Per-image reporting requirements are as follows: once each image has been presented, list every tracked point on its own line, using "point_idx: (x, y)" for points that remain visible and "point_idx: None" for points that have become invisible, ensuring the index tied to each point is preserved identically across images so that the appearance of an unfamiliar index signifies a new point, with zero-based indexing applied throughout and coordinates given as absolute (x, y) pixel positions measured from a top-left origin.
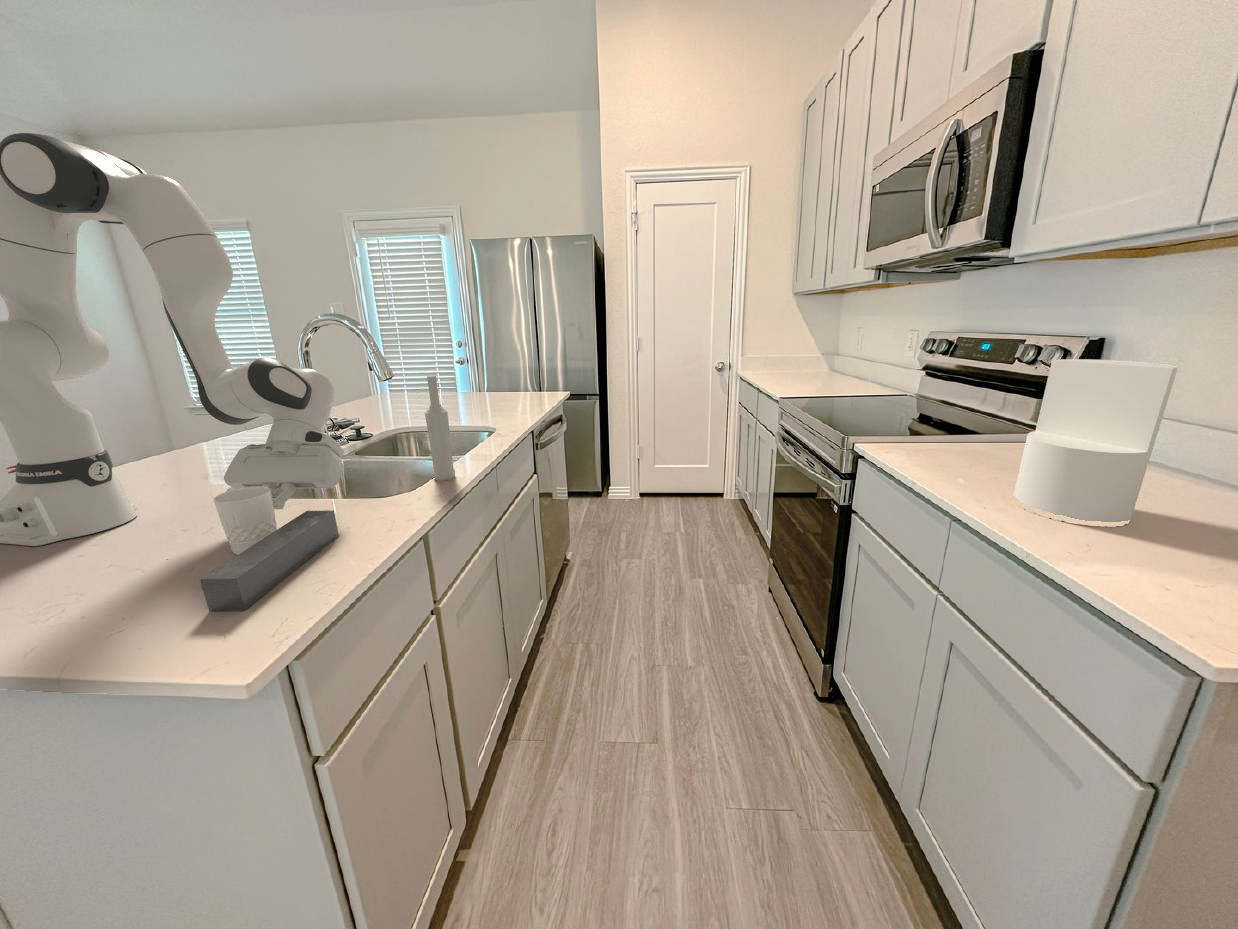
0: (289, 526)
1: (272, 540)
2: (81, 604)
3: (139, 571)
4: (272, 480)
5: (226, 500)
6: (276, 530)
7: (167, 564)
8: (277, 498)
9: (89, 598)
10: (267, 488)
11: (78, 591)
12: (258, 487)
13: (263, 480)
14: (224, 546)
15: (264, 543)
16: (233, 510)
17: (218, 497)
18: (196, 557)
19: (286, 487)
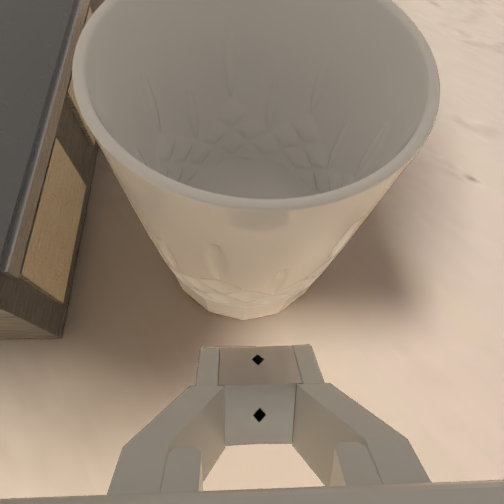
0: (2, 116)
1: (18, 20)
2: (426, 16)
3: (469, 121)
4: (307, 492)
5: (398, 123)
6: (46, 88)
7: (435, 151)
8: (212, 379)
9: (438, 32)
10: (139, 161)
11: (501, 54)
12: (259, 201)
13: (430, 488)
14: (372, 257)
15: (37, 4)
16: (223, 13)
17: (408, 47)
18: (391, 186)
19: (140, 462)
